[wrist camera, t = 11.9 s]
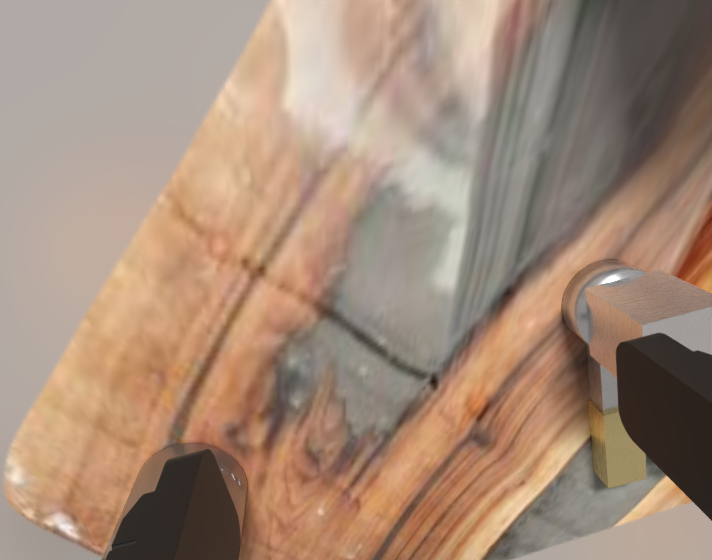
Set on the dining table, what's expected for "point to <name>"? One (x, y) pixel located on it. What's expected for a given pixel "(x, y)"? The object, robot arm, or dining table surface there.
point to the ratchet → (603, 383)
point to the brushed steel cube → (647, 314)
